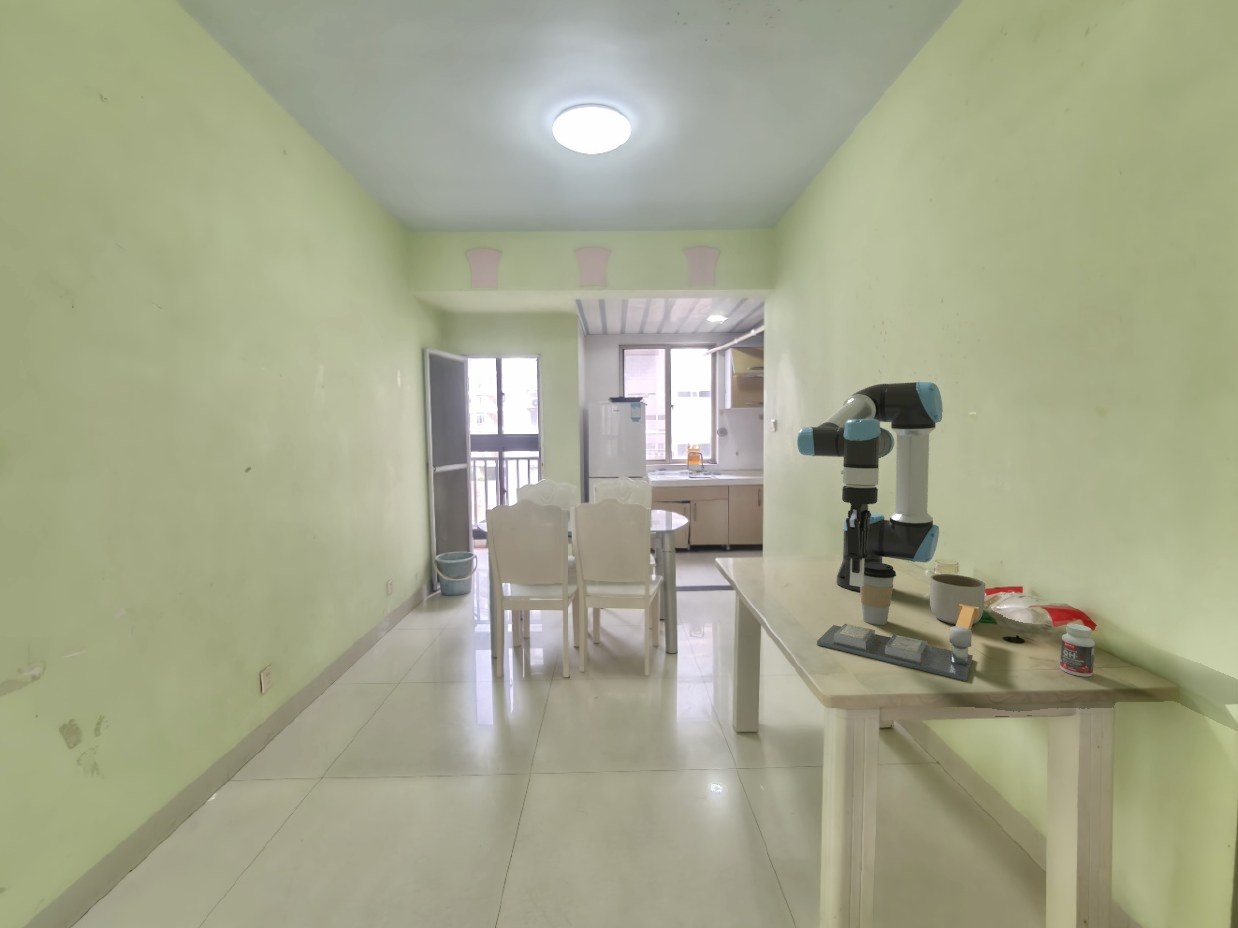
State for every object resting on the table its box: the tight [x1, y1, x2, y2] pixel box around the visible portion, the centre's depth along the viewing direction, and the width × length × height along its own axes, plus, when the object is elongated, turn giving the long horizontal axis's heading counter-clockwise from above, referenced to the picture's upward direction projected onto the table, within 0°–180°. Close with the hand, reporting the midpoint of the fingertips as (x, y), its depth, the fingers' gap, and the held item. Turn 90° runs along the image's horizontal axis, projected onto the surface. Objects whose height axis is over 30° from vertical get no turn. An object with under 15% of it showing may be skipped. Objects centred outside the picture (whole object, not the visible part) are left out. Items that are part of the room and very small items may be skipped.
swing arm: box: [948, 604, 979, 648], centre depth 125 cm, size 22×4×3 cm, turn 143°
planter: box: [929, 573, 986, 625], centre depth 146 cm, size 12×12×11 cm
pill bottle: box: [1059, 623, 1096, 678], centre depth 115 cm, size 5×5×10 cm
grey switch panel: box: [816, 623, 974, 682], centre depth 125 cm, size 13×30×5 cm, turn 53°
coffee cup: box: [859, 562, 897, 626], centre depth 145 cm, size 9×9×15 cm
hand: (856, 585), depth 128 cm, fingers closed
